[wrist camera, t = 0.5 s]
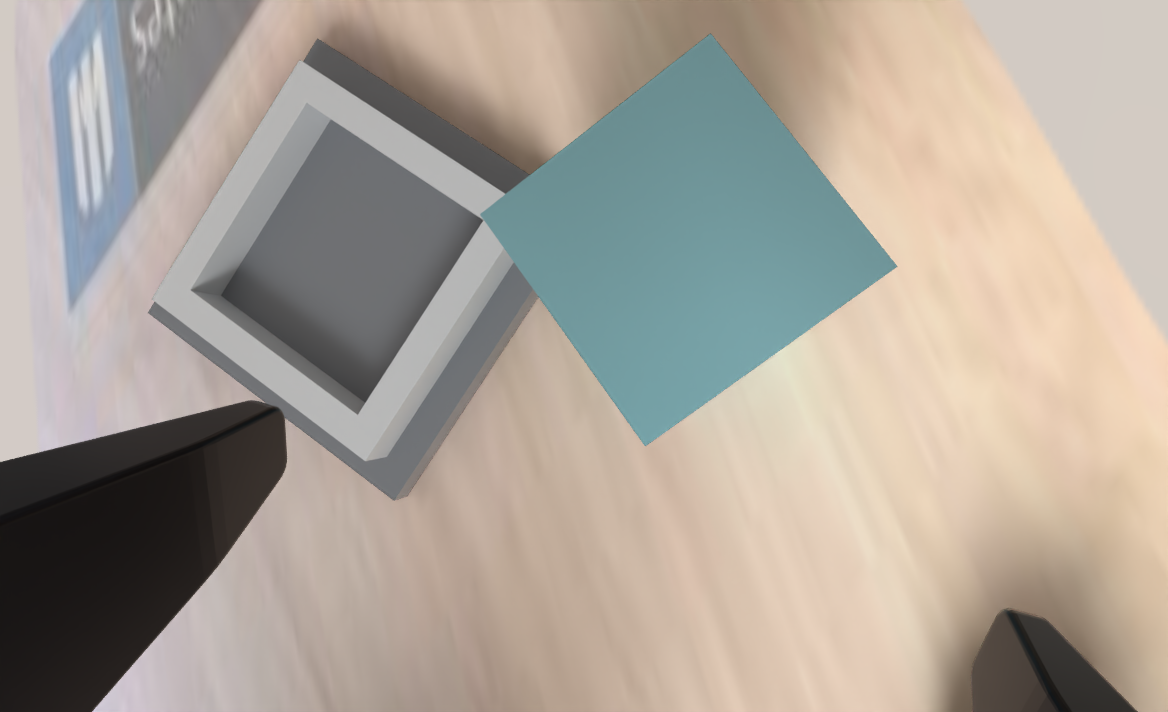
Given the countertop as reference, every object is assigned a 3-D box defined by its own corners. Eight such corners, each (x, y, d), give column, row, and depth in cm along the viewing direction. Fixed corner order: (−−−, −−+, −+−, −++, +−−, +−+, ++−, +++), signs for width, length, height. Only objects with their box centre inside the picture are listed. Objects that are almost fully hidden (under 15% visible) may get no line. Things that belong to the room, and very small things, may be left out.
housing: (685, 416, 24) (645, 445, 12) (602, 302, 24) (479, 214, 12) (806, 331, 23) (897, 267, 11) (717, 216, 24) (710, 33, 12)
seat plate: (406, 496, 25) (372, 508, 23) (168, 315, 27) (113, 308, 25) (590, 217, 25) (575, 198, 22) (332, 51, 27) (292, 17, 24)
